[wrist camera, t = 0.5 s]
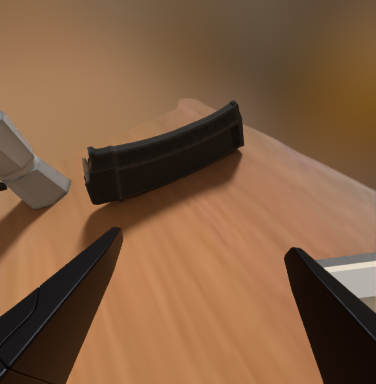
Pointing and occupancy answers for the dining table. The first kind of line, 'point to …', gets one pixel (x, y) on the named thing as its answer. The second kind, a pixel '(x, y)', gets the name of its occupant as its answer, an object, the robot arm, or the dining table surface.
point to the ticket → (371, 302)
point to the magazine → (161, 156)
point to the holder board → (347, 260)
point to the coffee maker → (27, 170)
